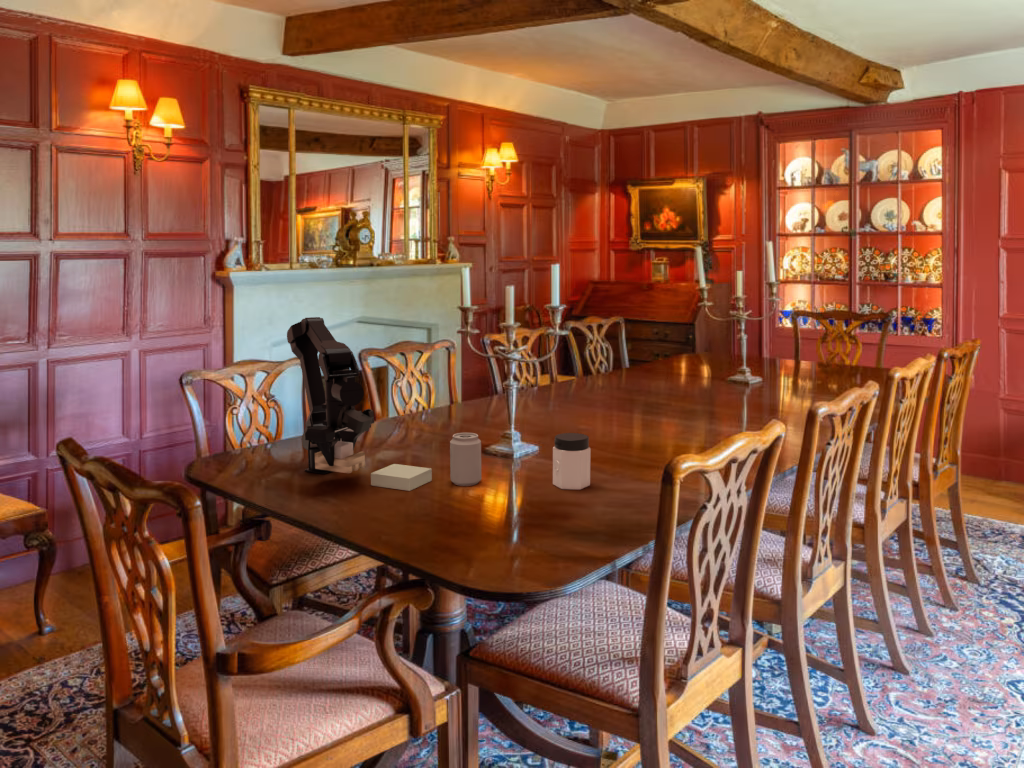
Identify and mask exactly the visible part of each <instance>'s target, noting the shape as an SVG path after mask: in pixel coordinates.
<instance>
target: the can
mask: <svg viewBox="0 0 1024 768" xmlns="http://www.w3.org/2000/svg"><path fill="white" fill-rule="evenodd" d="M449 456H450V457H449V459H450V460H449V461H450V464H449V465H450V467H449V469H450V470H449V471H450V473H449V474H450V481H451V482H452V483H453V484H454V485H457V486H459V487H460V486H461V487H469V486H470V487H472V486H475V485H477V484H478V483H480V482H481V481H482V441H481V439H480V438H479V435H478V434H477V433H474V432H457V433H454V434H453V435H452V439H451V440H450V441H449Z"/></svg>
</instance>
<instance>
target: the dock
mask: <svg viewBox="0 0 1024 768" xmlns="http://www.w3.org/2000/svg"><path fill="white" fill-rule="evenodd" d="M432 471H433V470H432V468H431V467H421V466H413V465H405V464H400V463H399V464H398V463H393V464H390V465H388V466H385V467H383V468H381V469H377V470H375V471H373V472H370V486H373V487H380V488H385V489H386V488H387V489H395V490H402V491H407V492H410V491H412V490H415V489H416V488H419V487H421V486H422V485H425V484H427V483H430V482H432V480H433V472H432Z"/></svg>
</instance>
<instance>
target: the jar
mask: <svg viewBox="0 0 1024 768" xmlns="http://www.w3.org/2000/svg"><path fill="white" fill-rule="evenodd" d="M553 443H554V446H553V447H552V485H553V486H556V487H557V488H559V489H560V490H572V491H573V490H576V491H577V490H578V491H580V490H583V489H584V488H587V487H590V486H591V446H589V445H590V444H589V443H590V437H589V435H587V434H584V433H579V432H564V433H558V434H556V435H555V436H554V441H553Z"/></svg>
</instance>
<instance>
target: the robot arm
mask: <svg viewBox="0 0 1024 768" xmlns="http://www.w3.org/2000/svg"><path fill="white" fill-rule="evenodd" d="M286 339H287V342H288V344H289V346H290V350H291V352H292V353H293V355H294V356H296V358H297V359H298V360H299V363H300V367H301V374H302V379H303V384H304V389H305V395H306V399H307V405H308V411H309V413H308V416H307V418H306V420H305V428H304V430H303V433H302V436H301V444H302V448H303V449H305V450H306V451H307V461H308V468H305V469H304V472H307V473H314V474H320V475H325V474H328V473H331V472H332V471H328V470H321V469H315V453H317V452H320V451H321V452H322V454H323V456H324V457H325V459H326V461H327V463H328V465H329V466H333V465H334V448H335V444H336V443H337V442H338V441H343V442H352V443H353V451H355V450H354V449H355V446H356V443H357V441H358V438H359V437H360V436H361V435H363V434H364V433H365V432H369V430H370V428H372V424H374V423H375V413H374V410H373V409H371V408H367V409H364V410H363V411H362V410H356V407H355V406H357V405H358V404H360V403H361V402H362V400H363V399H364V396H365V395H364V394H365V393H364V389H363V386H362V385H361V384H360V382H357V381H356V377H359V371H360V367H359V365H358V363H357V359H356V357H355V355H354V353H353V351H352V350H351V348H350V347H349V346H348V345H346V343H343V342H340V341H337V340H336V338H335V337H334V336H333V335H332V333H331V332H330V330H329V328H328V327H327V326H326V324H325V320H324V318H323V317H319V316H313V317H305V318H302V319H301V321H298V322H296V323H294V324H292V325H291V326H290V327H289V328H288V330H287V332H286ZM322 375H323V376H322ZM323 378H324V381H323Z"/></svg>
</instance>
